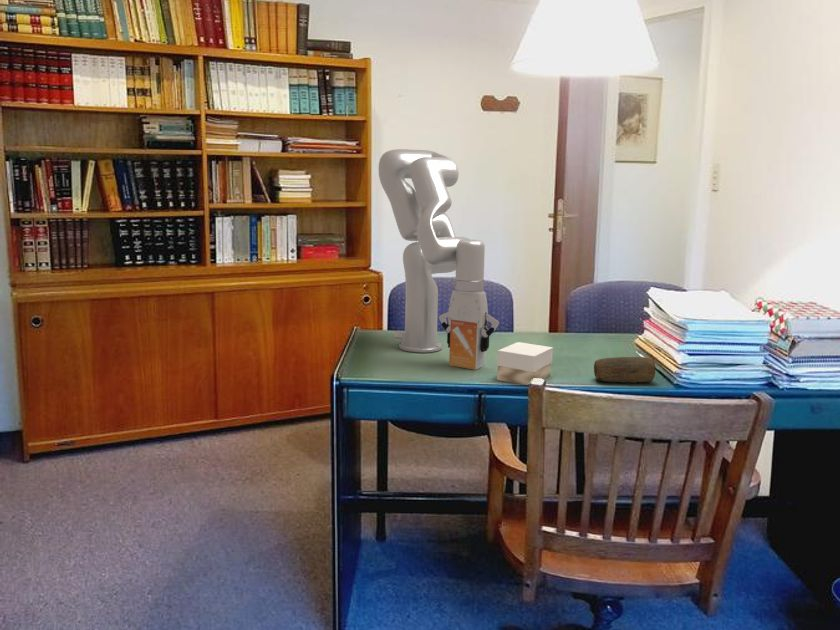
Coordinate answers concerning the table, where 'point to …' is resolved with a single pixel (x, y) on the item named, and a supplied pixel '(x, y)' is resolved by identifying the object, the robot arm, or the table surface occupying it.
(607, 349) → the table surface
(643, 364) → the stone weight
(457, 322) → the small box
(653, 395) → the table surface
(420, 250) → the robot arm
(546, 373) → the tower bottom
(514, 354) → the white flat block
